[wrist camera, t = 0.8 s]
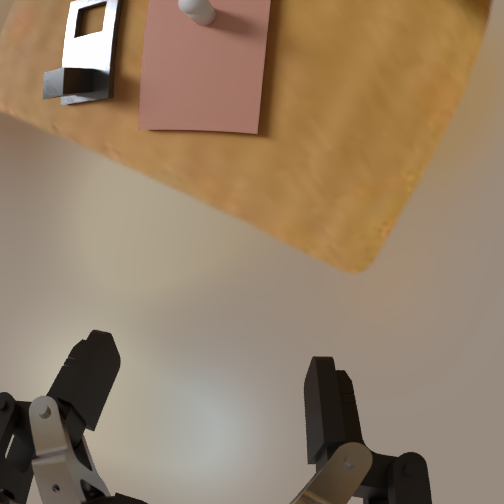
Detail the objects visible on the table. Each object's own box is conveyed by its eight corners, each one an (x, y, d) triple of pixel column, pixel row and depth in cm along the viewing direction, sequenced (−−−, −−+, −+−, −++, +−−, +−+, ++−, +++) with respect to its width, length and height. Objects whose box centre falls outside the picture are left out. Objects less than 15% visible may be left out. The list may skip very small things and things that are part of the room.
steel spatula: (75, 3, 20) (42, -6, 14) (124, -10, 20) (95, -27, 14) (66, 104, 28) (30, 111, 21) (112, 97, 28) (78, 101, 21)
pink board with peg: (156, -12, 21) (128, -34, 14) (272, -15, 21) (273, -45, 14) (144, 128, 30) (111, 138, 23) (257, 132, 30) (254, 142, 23)
